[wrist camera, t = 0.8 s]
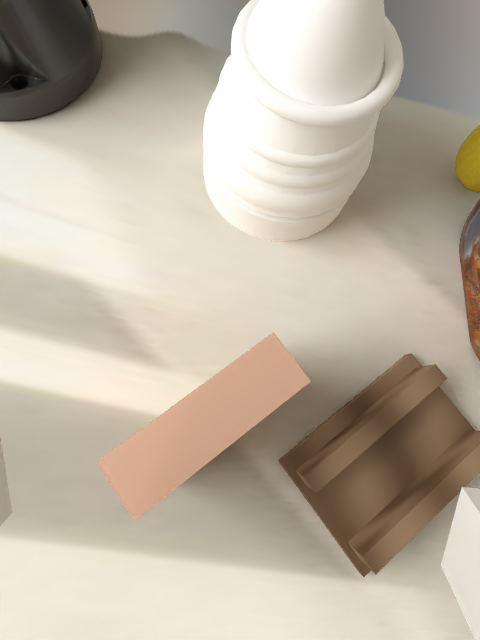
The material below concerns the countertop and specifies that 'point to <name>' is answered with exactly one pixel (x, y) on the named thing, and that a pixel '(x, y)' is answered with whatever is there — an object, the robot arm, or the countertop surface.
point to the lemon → (470, 162)
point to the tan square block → (202, 425)
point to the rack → (386, 463)
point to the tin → (472, 273)
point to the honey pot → (297, 112)
